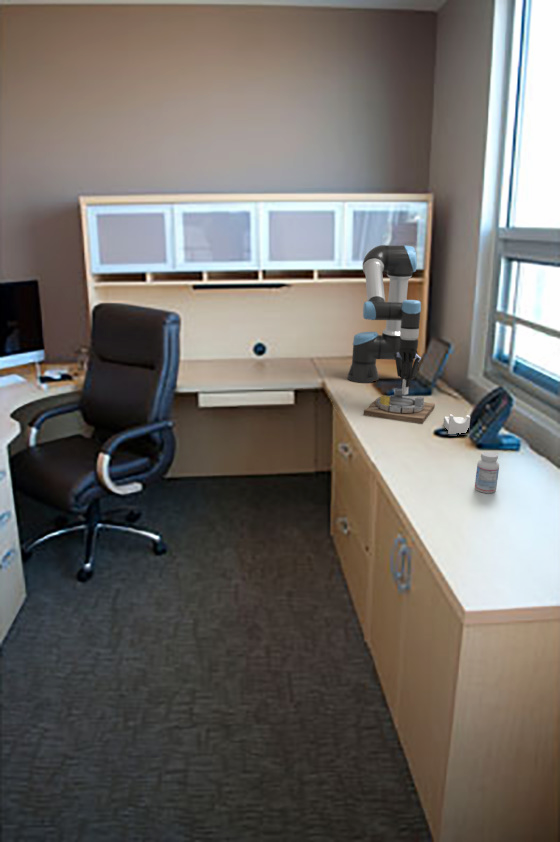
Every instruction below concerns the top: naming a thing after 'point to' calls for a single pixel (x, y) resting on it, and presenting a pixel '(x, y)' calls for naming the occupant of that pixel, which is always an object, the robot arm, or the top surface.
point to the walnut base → (410, 417)
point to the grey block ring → (385, 405)
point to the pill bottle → (487, 473)
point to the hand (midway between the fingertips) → (404, 394)
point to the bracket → (456, 424)
